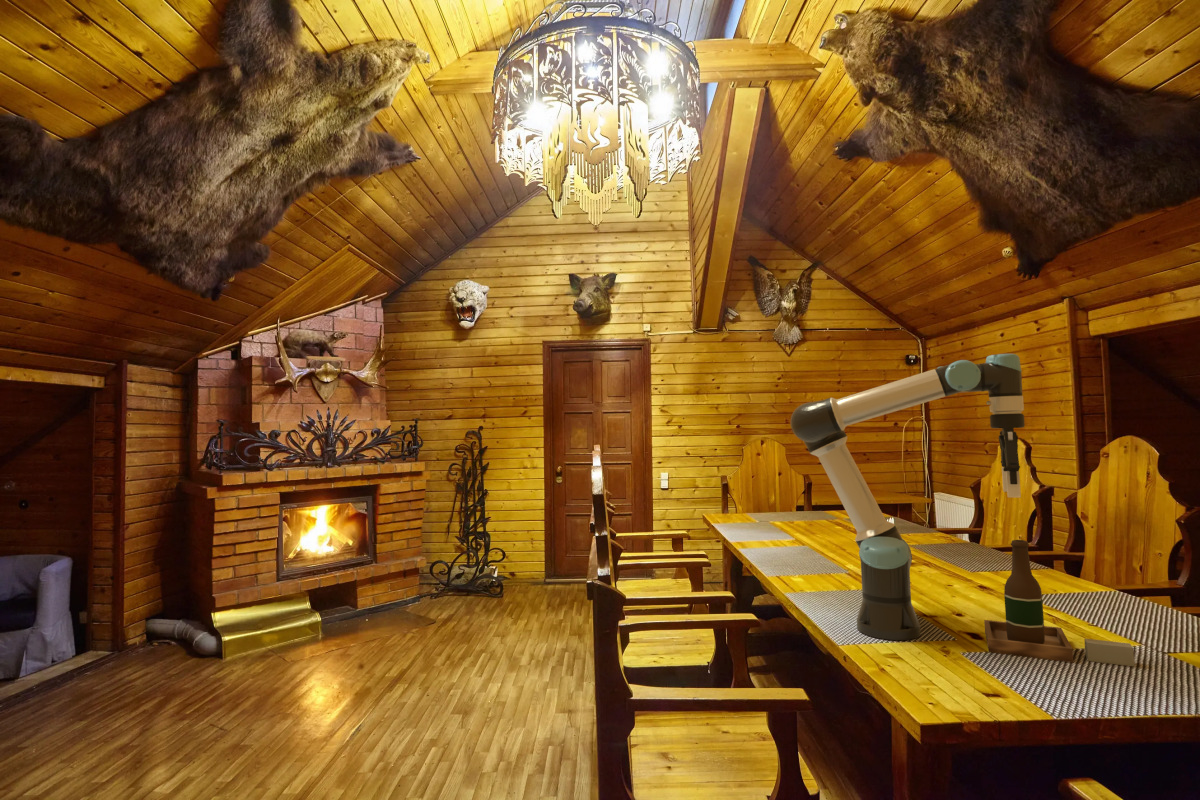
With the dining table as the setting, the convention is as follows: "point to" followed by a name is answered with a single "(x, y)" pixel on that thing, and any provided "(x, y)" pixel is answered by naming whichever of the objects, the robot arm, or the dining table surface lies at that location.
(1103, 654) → the block
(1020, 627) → the beer bottle
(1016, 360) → the robot arm
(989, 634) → the tray
